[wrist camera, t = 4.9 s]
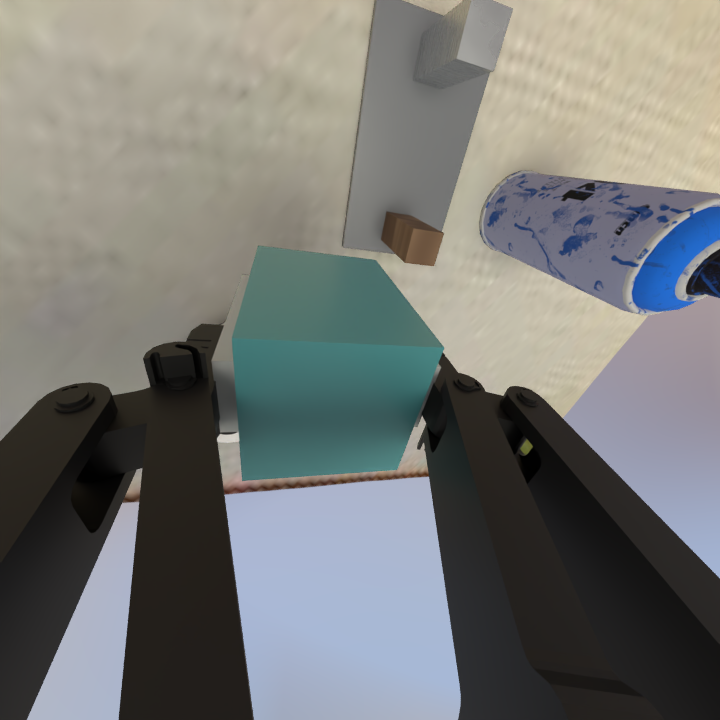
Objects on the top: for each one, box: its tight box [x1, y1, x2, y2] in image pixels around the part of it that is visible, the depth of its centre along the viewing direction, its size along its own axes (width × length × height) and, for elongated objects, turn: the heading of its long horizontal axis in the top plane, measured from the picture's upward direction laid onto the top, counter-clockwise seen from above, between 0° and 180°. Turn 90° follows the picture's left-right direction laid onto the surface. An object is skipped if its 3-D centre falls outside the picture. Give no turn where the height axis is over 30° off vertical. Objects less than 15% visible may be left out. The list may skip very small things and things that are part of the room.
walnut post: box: [381, 211, 444, 266], centre depth 27 cm, size 3×3×8 cm
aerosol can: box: [479, 171, 720, 315], centre depth 24 cm, size 8×8×20 cm
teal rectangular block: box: [232, 246, 444, 481], centre depth 12 cm, size 5×5×8 cm
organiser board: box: [342, 0, 490, 254], centre depth 26 cm, size 10×17×1 cm, turn 170°
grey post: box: [413, 0, 513, 89], centre depth 20 cm, size 3×3×8 cm
